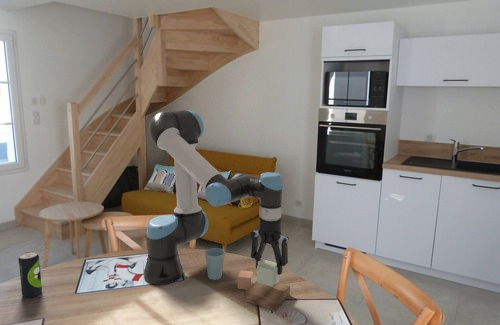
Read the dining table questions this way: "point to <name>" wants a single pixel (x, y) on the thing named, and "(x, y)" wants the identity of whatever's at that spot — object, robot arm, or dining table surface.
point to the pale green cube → (266, 273)
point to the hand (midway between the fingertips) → (268, 279)
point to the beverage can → (30, 274)
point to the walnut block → (267, 295)
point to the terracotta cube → (245, 279)
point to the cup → (215, 262)
